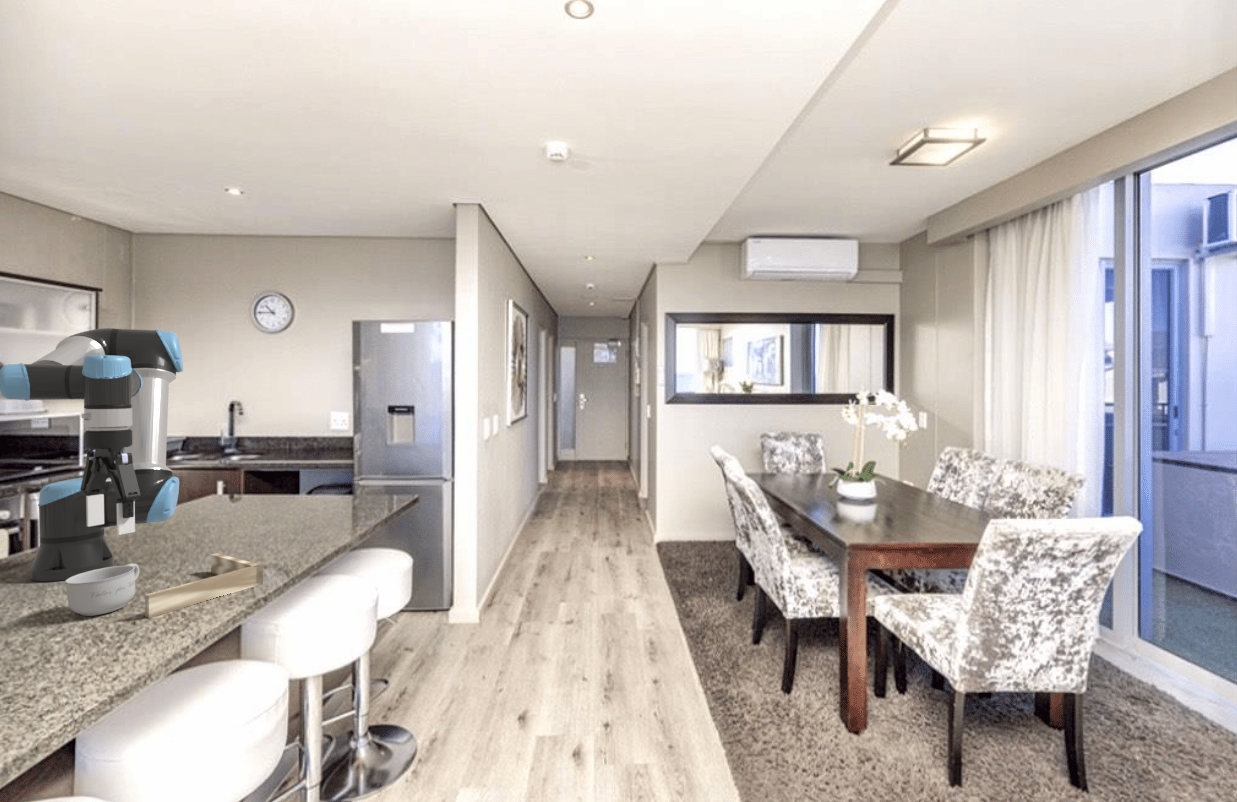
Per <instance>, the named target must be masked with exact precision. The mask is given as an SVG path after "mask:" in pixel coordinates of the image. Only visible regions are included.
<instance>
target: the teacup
mask: <svg viewBox="0 0 1237 802" xmlns="http://www.w3.org/2000/svg"><path fill="white" fill-rule="evenodd" d="M140 571H141V570H140V566H139V565H138V564H137V563H127V564H125V565H114V566H113V567H106V568H101V569H96V570H92V571H88V572H84V573H81V574H77V575H75V576H72V577H70V578H68V579H67V580H64V584H65V585H66V586H65V587H66V588H65V589H66V597H67V602H68V607H69V609H70V610H71V611H72V612H74V613H76V614H80V615H81V616H85V617H93V616H98V615H103V614H104V615H105V614H108V613H112V612H115V611H117V610H120V609H121V608H123V607H125V606H126V605H127V603H128V602H129V601H131V600H132V598H134V596H135V593H136V580H137V579H138V577H139V575H140Z"/></svg>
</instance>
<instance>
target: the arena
mask: <svg viewBox="0 0 1237 802" xmlns="http://www.w3.org/2000/svg"><path fill="white" fill-rule="evenodd" d="M210 573H212V574H215V575H214V576H210V577H206V578H203V579H198V580H194V581H192V582H188V583H184V584H181V585H177V586H172V587H169V588H165V589H162V590H157V591H154V592H150V593H148V594H147V593H146V594H145V597H144V599H145V601H144V602H145V603H144V604H145V605H144V607H145V609H144V610H145V611H144V612H145V613H144V614H145V618H148V619H150V618H154V617H157V616H160V615H164V614H167V613H170V612H174V610H175V611H178V610H181V609H185V608H187V606H188V607H190V606H195V605H197V603H198V604H201V603H205V602H207V601H206V600H208V601H210V599H211V600H213V598H214V599H217V598H216V597H218V598H220V597H219V596H221V597H224V596H228V595H231V594H234V593H237V592H240V591H244V590H247V589H251V588H254V587H258V586H261V585H263V584H264V565H263V564H260V563H256V562H252V561H248V560H244V559H242V558H237V557H233V556H229V555H226V554H223V553H222V554H221V553H218V552H216V553H212V554H210ZM230 593H231V594H230ZM227 594H228V595H227ZM223 595H224V596H223ZM200 602H201V603H200ZM194 604H195V605H194ZM184 607H185V608H184Z"/></svg>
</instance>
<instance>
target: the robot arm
mask: <svg viewBox="0 0 1237 802" xmlns="http://www.w3.org/2000/svg"><path fill="white" fill-rule="evenodd" d="M183 371H184V363H183V355H182V350H181V346H180V342H179V337H178V335H177V334H176V333H175V332H173V331H168V330H158V329H155V330H153V329H152V330H151V329H134V328H133V329H130V328H129V329H127V328H111V327H110V328H108V327H107V328H94V329H91V330H86V331H85V330H84V331H81V332H78V333H74V334H73V335H70V336H67V337H65V338H63V339H61V341H59V342H58V343H57V345H56V347H55V349H54V350H52V351H50V352H49V353H46V355H44V356H42V357H40V358H39V359H37V360H35V361H33V362H32V363H29V364H27V363H15V364H14V363H13V364H12V363H11V364H4V365H3V366H2V367H1V368H0V394H1V396H2V397H3V398H5V399H7V400H17V401H18V400H24V401H33V400H34V401H41V400H43V401H45V400H46V401H47V400H48V401H49V400H53V401H54V400H55V401H57V400H59V401H60V400H62V401H63V400H83V412H84V413H81V415H80V417H81V418H82V419H83V421H84V422H83V423H84V428H85V429H88V430H86V431H84V432H83V433H84V435H83V436H84V437H83V439H84V441H83V443H84V444H83V445H84V447H85V449H87V451H86V462H85V465H84V466H85V468H84V471H83V475H82V477H78V478H72V479H66V480H65V479H64V480H62V481H61V480H60V481H55V482H52V483H49V484H46V485H44V486H43V487H42V488H41V489H40V490H39V499H38V500H39V501H38V504H37V507H38V517H39V518H38V519H39V522H38V523H39V547H38V550H37V552H36V555H35V556H34V559H33V562H32V564H31V566H30V569H29V571H30V575H29V578H30V580H31V581H35V582H57V581H66V580H67V579H68V578H70V577H72V576H75V575H77V574H81V573H84V572H88V571H92V570H96V569H101V568H106V567H114V566H115V557H114V554H113V552H112V550H111V547H110V545H109V544H108V542H107V541H108V540H107V539H106V536H105V528H110V527H116V535H119V536H120V535H126V534H131V533H135V532H136V525H140V524H141V525H142V524H148V525H149V524H150V525H151V524H152V523H161V522H165V521H168V520H169V519H171V518H172V517H173V515H174V513H175V511H176V508H177V504H178V499H179V494H180V493H179V492H180V478H179V477H178V476H177V477H176V476H174V475H173V474H174V473H173V470H172V469H171V468H170V467H168V466H167V444H168V443H167V441H168V420H169V419H168V418H169V417H168V416H169V415H168V413H169V412H168V411H169V389H170V387H169V385H170V383H172V382H173V381H174V380H176V378H177V373H178V374H179V373H182V372H183ZM108 478H109V479H110V481H109V480H107V479H108Z"/></svg>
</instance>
